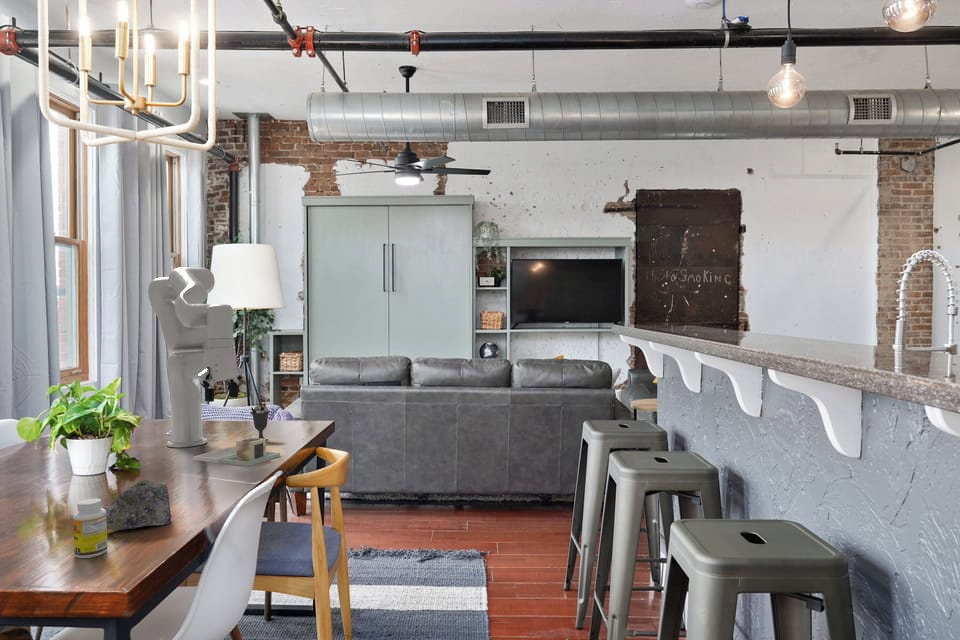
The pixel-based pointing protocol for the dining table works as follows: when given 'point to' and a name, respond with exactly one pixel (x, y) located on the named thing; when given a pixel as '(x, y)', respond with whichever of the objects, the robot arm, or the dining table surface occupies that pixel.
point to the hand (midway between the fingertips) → (221, 399)
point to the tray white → (216, 455)
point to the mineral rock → (140, 507)
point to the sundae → (260, 417)
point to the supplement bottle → (90, 529)
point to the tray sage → (242, 463)
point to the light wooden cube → (250, 449)
